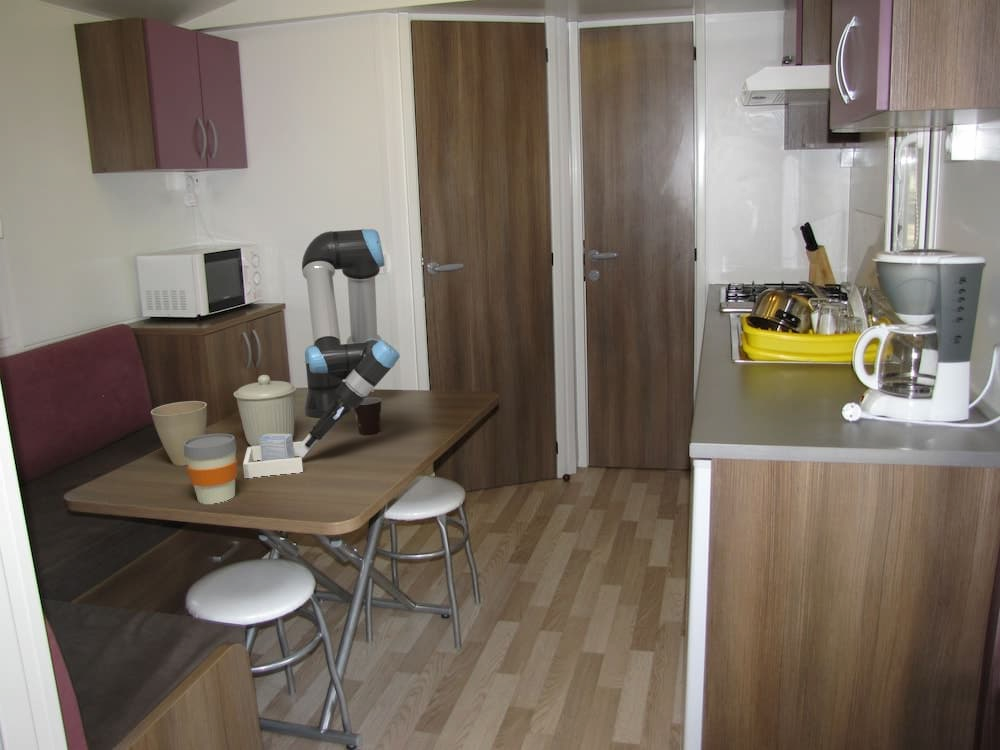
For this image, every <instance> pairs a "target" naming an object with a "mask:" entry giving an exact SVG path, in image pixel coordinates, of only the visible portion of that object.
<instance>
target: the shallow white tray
mask: <svg viewBox="0 0 1000 750" xmlns="http://www.w3.org/2000/svg"><path fill="white" fill-rule="evenodd" d="M302 442H303V440H302V441H293V446H294V454H295V456H299V457H295V458H289V459H279V460H269V461H262V455H261V447H260V446H251V445H250V446H247V448H246V452H245V455H244V460H243V462H242V463H243V464H242V468H243V477H244V479H245V478H249V479H254V478H253V477H258V478H262V477H261V476H268V477H271V476H270V475H277V476H281V475H280V474H287V475H292V474H291V473H296V474H301V473H300V472H303V473H304V469H303V457H301V456H300V455H299V454H297V453H296V452H295V450H296V448H297V447H298V446H299V445H300V444H301V443H302ZM257 460H260V461H257Z"/></svg>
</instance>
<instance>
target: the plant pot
mask: <svg viewBox="0 0 1000 750" xmlns="http://www.w3.org/2000/svg"><path fill="white" fill-rule="evenodd" d="M207 405H208V404H207V403H206V401H205V402H204V401H199V400H190V401H179V402H178V401H177V402H171V403H167V404H163V405H160V406H157V407H155V408H153V409H152V410H151V411H150V414H151V418H152V420H153V421H152V422H153V424H154V427H155V430H156V432H157V435H158V437H159V439H160V442H161V443H162V446H163V448H164V450H165V452H166V454H167V456H168V457H169V459H170V460H171V462H172V464H173V465H174V466H178V467H179V466H180V467H181V466H182V467H184V466H187V464H188V463H187V459H186V457H185V456H184V443H185V441H187V440H189V439H191V438H194V437H197V436H202V435H206V431H207V420H208V419H207V418H208V417H207V414H208V413H207V412H208V411H207V410H208V407H207Z"/></svg>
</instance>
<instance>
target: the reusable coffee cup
mask: <svg viewBox="0 0 1000 750" xmlns="http://www.w3.org/2000/svg"><path fill="white" fill-rule="evenodd" d="M237 449H238V447H237V443H236V438H235V436H234V435H233V434H228V433H221V432H220V433H210V434H209V433H208V434H205V435H202V436H197V437H194V438H191V439H189V440H187V441H185V443H184V456H185V457H186V459H187V463H188V464H187V465H186V469H187V472H188V476H189V480H190V483H191V485H193V487H194V492H195V495H196V498H197V502H198V503H199V502H200V503H199V504H202V503H203V505H215V504H214V503H218V504H221V503H220V502H223V503H225V502H224V501H226V502H228V501H227V500H229V499H231V498H233V497H234V496H235V497H236V478H237V476H238V458H237V457H236V451H237ZM235 497H234V498H235ZM234 498H233V499H234ZM231 500H232V499H231ZM229 501H230V500H229Z"/></svg>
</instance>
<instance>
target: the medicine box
mask: <svg viewBox="0 0 1000 750" xmlns="http://www.w3.org/2000/svg"><path fill="white" fill-rule="evenodd" d="M293 437H294V436H293ZM293 437H292V434H265V435H264V436H262V437H261V438H260V447H261V455H262V460H261V461H269V460H279V459H289V458H296V457H295V454H294V446H293V442H294V439H293Z"/></svg>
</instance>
